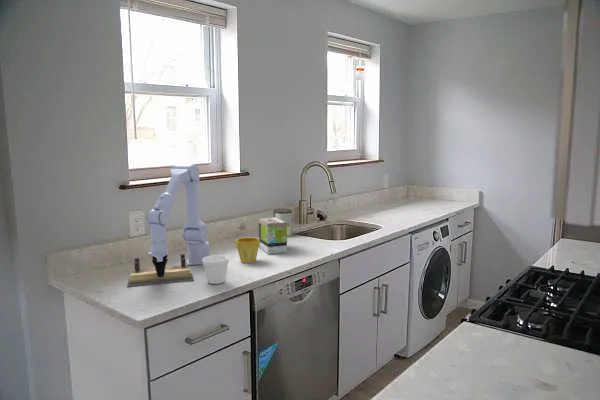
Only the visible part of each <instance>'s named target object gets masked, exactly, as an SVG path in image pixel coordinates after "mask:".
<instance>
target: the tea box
mask: <svg viewBox="0 0 600 400" xmlns="http://www.w3.org/2000/svg"><path fill="white" fill-rule="evenodd" d="M258 239H259V240H260V247H259V248H260V249H261V250H262V251H264V252H265V253H266V254H268V255H271V254H272V255H275V254H284V253H285V254H286V253H288V237H287V222H285V221H283V220H281V219H279V218H274V217H267V218H266V217H264V218H263V217H262V218H258Z"/></svg>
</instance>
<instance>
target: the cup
mask: <svg viewBox="0 0 600 400" xmlns="http://www.w3.org/2000/svg"><path fill="white" fill-rule="evenodd" d="M202 263H203V264H202V265H203V268H204V272H205V276H206V279H207V283H208V284H209V285H221V284H223V283H224V282H225V280H226V276H227V270H228V266H229V257H228V256H227V255H223V254H215V255H214V254H213V255H210V256H207V257H204V258H203V259H202Z"/></svg>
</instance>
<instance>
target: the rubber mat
mask: <svg viewBox="0 0 600 400" xmlns="http://www.w3.org/2000/svg"><path fill="white" fill-rule="evenodd" d="M190 274H191V278H182V279H171V280H161V281H151V282H140V283H131V282H130V278H128V279H127V285H126V287H127V288H132V287H143V286H153V285H154V286H155V285H163V284H164V285H165V284H173V283H183V282H184V283H185V282H194V274H193V273H192V272H190Z"/></svg>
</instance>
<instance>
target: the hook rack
mask: <svg viewBox="0 0 600 400" xmlns="http://www.w3.org/2000/svg"><path fill="white" fill-rule="evenodd" d="M185 255H186V254H185V253H180V265H170V266H169V265H168V266H165V270H174V269H185V268H189V265H187V261H186V258H185ZM152 271H156V268H155V267H148V268H147V267H146V268H141V266H140V257H139V256H138V257H134V269H132V272H131V273H141V272H152Z"/></svg>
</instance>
